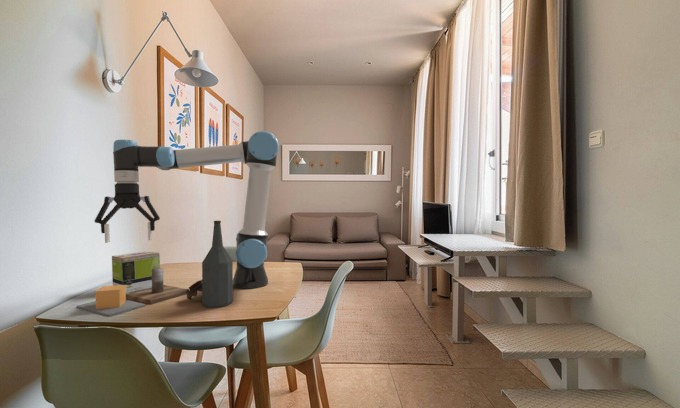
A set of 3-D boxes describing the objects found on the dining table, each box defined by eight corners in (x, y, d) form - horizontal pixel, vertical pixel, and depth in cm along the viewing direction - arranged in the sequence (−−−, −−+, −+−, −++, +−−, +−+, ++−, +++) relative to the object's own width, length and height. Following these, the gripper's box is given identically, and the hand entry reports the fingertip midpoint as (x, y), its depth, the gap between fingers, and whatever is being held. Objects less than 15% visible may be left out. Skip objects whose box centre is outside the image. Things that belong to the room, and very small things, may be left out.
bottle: (222, 309, 116) (222, 221, 115) (196, 307, 118) (196, 221, 117) (237, 300, 126) (236, 219, 126) (213, 298, 128) (212, 219, 127)
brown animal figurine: (213, 304, 123) (200, 286, 121) (191, 314, 124) (178, 297, 122) (223, 287, 134) (212, 270, 132) (203, 297, 135) (191, 280, 133)
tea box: (149, 283, 152) (149, 250, 151) (161, 286, 146) (160, 252, 146) (111, 290, 139) (111, 254, 139) (122, 294, 134) (121, 257, 133)
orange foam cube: (125, 301, 123) (125, 284, 123) (119, 307, 116) (119, 289, 116) (103, 302, 121) (103, 286, 121) (95, 309, 114) (95, 291, 114)
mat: (145, 306, 119) (145, 304, 119) (109, 316, 109) (109, 314, 109) (112, 298, 128) (112, 296, 128) (76, 307, 118) (76, 305, 118)
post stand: (189, 293, 135) (189, 267, 135) (151, 304, 121) (150, 275, 121) (163, 288, 143) (163, 263, 142) (124, 298, 128) (124, 270, 128)
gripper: (82, 182, 116) (84, 244, 116) (163, 182, 124) (165, 239, 124) (90, 183, 123) (92, 242, 123) (166, 183, 131) (168, 237, 131)
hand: (129, 241), depth 124 cm, fingers open, 13 cm apart
